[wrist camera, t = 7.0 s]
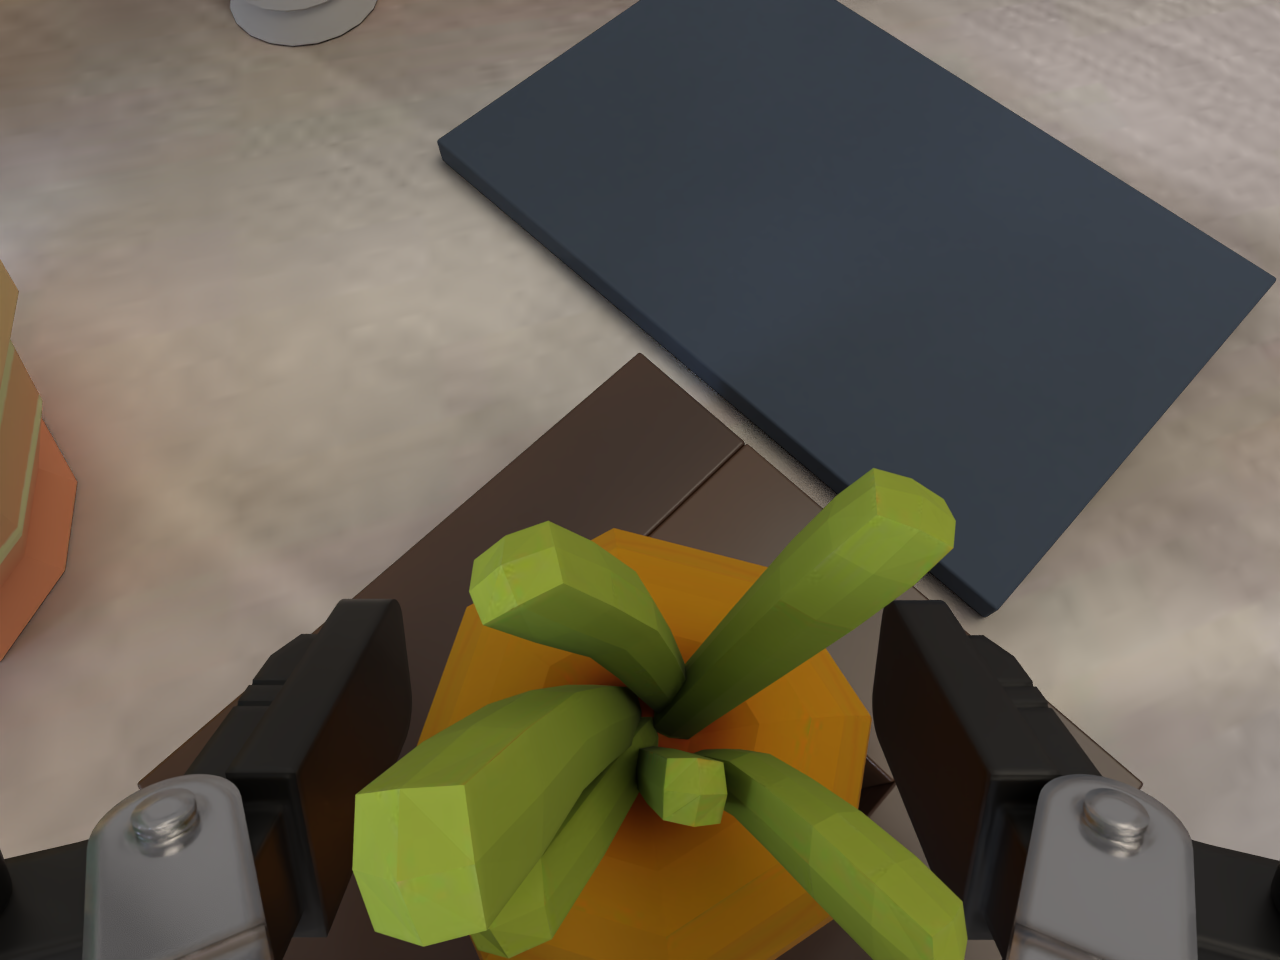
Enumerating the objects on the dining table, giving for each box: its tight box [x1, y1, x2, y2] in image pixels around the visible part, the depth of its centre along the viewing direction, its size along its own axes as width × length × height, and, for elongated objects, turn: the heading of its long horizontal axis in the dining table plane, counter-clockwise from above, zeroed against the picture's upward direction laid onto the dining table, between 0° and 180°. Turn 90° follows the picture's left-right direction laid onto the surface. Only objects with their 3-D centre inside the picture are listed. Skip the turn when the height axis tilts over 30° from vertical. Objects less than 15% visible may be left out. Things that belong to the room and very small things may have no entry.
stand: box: [138, 353, 1143, 960], centre depth 16 cm, size 12×12×4 cm
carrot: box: [352, 468, 968, 960], centre depth 11 cm, size 5×5×15 cm
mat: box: [437, 0, 1276, 617], centre depth 24 cm, size 20×13×1 cm, turn 45°
